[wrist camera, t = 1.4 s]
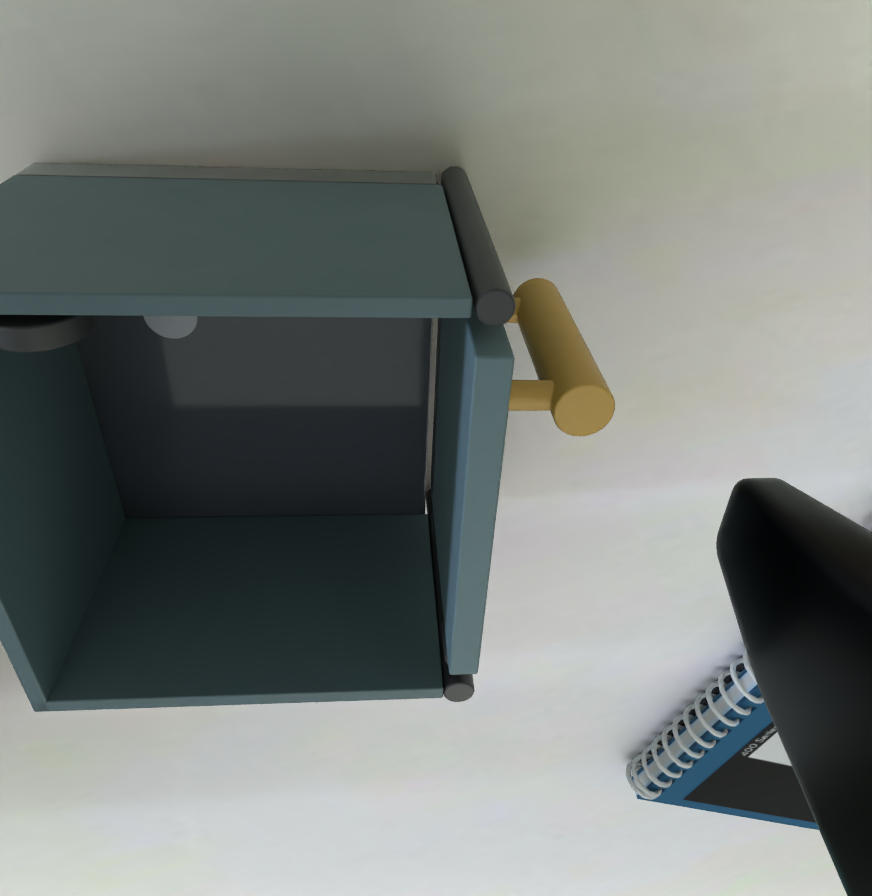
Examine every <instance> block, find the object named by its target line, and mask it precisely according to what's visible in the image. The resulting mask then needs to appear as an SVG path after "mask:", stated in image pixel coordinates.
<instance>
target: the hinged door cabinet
mask: <svg viewBox="0 0 872 896" xmlns="http://www.w3.org/2000/svg"><path fill="white" fill-rule="evenodd" d="M472 302H473V306H474V310H475V313H476V316H477V318H478V319H479V320H480V321H481V322H482V323H483V324H485V325H488V326H500V325H503V324H505V323H506V322H508V321H509V320H510V319H511V317H512V316H513V314H514V312H515V307H516V304H515V300H514V297H513V294H512V292H511V289H510V287H509V284H508V281H507V279H506V276H505V274H504V271H503V268H502V266H501V263H500V260H499V258H498V255H497V253H496V250H495V247H494V245H493V242H492V240H491V237H490V234H489V232H488V229H487V227H486V224H485V221H484V219H483V216H482V214H481V211H480V208H479V206H478V203H477V200H476V198H475V195H474V193H473V190H472V187H471V185H470V182H469V180H468V177H467V174H466V172H465V171H464V170H463V169H462V168H460V167H456V166H453V167H449V168H447V169H446V170H445V171H444V172H443V174H442V176H441V185H421V184H376V183H332V182H287V181H242V180H198V179H153V178H109V177H64V176H20V175H14V176H12V177H11V178H9V179H7V180H6V181H4V182H3V183H1V184H0V640H1V642H2V644H3V646H4V648H5V650H6V652H7V655H8V657H9V659H10V661H11V663H12V665H13V667H14V669H15V671H16V673H17V676H18V678H19V680H20V682H21V684H22V686H23V688H24V690H25V692H26V694H27V697H28V699H29V701H30V703H31V705H32V707H33V709H34V711H36V712H38V711H67V710H97V709H126V708H155V707H184V706H213V705H242V704H272V703H301V702H330V701H359V700H388V699H417V698H442V697H443V694H444V696H445V697H446V698H447V699H448V700H450V701H454V702H460V701H465V700H467V699H469V698H470V697H471V696H472V695H473V693H474V684H473V676H472V674H459V675H451V674H450V673H449V667H448V664H447V663H446V661H445V657H444V647H443V636H442V626H441V624H442V620H443V619H444V616H443V606H442V596H441V586H440V576H439V566H438V556H437V546H436V542H435V541H434V539H433V531H432V520H431V512H432V510H433V505H432V493H431V489H430V490H429V491H428V492H427V494H426V504H427V514H405V515H333V516H261V517H190V518H125V514H124V510H123V507H122V503H121V500H120V496H119V493H118V489H117V485H116V482H115V478H114V475H113V471H112V468H111V464H110V460H109V457H108V453H107V450H106V446H105V443H104V439H103V435H102V432H101V428H100V425H99V421H98V417H97V414H96V410H95V407H94V403H93V400H92V396H91V392H90V389H89V385H88V382H87V378H86V375H85V371H84V367H83V364H82V360H81V357H80V353H79V349H78V346H77V342H78V341H80V340H82V339H84V338H85V337H87V336H88V335H89V334H91V333H92V332H93V330H94V329H95V327H96V324H97V319H96V315H115V316H244V317H374V318H470V317H471V313H472Z"/></svg>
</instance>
